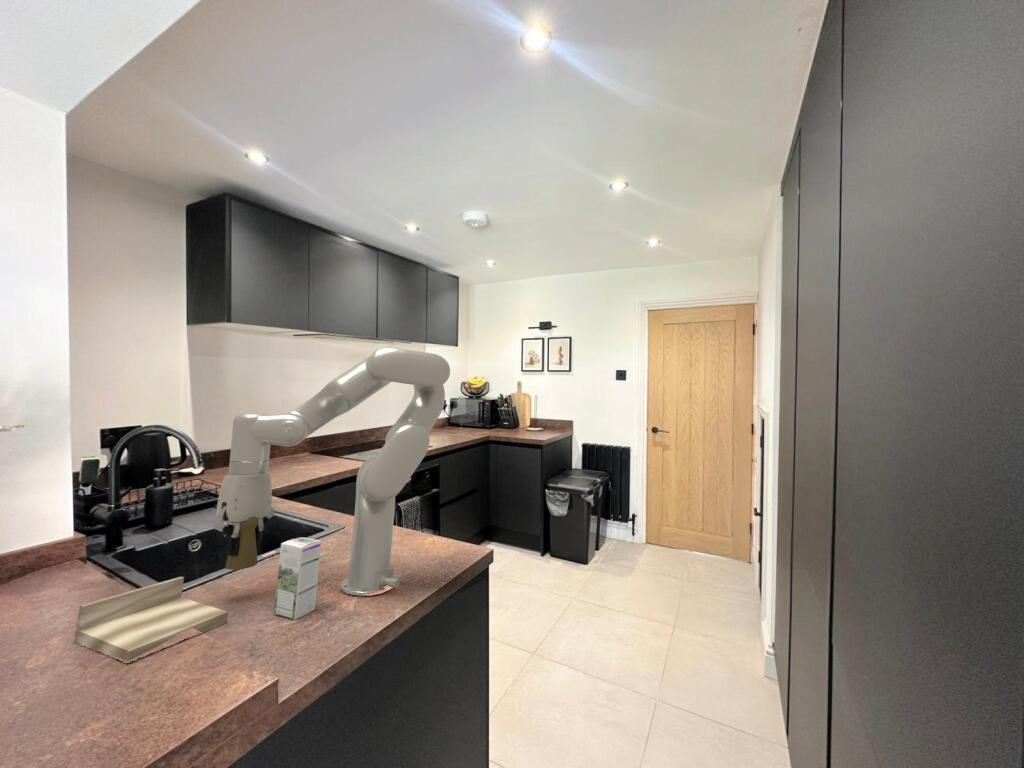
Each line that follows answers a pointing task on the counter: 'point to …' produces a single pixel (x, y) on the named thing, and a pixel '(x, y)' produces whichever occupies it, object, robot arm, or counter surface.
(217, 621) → the shelf
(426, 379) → the robot arm
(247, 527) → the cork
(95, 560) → the counter surface
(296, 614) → the syrup box
